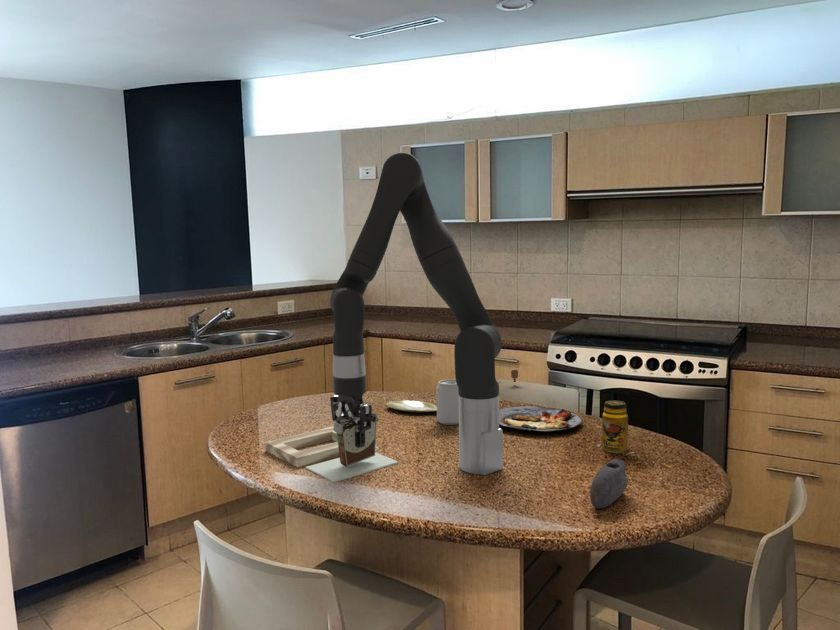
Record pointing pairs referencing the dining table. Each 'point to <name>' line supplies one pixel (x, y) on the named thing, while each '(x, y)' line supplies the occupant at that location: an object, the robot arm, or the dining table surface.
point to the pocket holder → (288, 446)
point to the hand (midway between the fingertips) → (351, 443)
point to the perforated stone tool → (608, 484)
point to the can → (447, 402)
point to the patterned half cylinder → (347, 440)
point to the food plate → (547, 421)
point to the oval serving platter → (412, 406)
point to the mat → (350, 467)
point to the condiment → (615, 427)
